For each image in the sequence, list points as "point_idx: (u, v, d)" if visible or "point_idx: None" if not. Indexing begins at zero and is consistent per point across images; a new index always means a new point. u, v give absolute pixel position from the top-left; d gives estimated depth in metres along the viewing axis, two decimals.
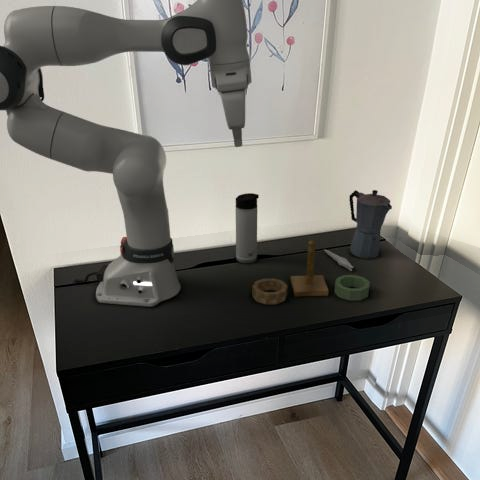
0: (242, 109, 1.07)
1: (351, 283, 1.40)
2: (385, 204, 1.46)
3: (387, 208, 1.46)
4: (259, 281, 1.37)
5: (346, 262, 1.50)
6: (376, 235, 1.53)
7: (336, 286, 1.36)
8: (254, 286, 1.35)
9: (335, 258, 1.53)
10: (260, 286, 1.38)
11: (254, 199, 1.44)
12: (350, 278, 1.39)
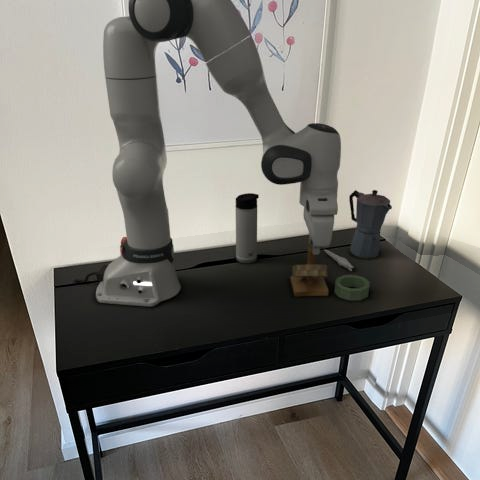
0: (330, 233, 1.17)
1: (351, 283, 1.40)
2: (385, 204, 1.46)
3: (387, 208, 1.46)
4: None
5: (346, 262, 1.50)
6: (376, 235, 1.53)
7: (336, 286, 1.36)
8: None
9: (335, 258, 1.53)
10: None
11: (254, 199, 1.44)
12: (350, 278, 1.39)
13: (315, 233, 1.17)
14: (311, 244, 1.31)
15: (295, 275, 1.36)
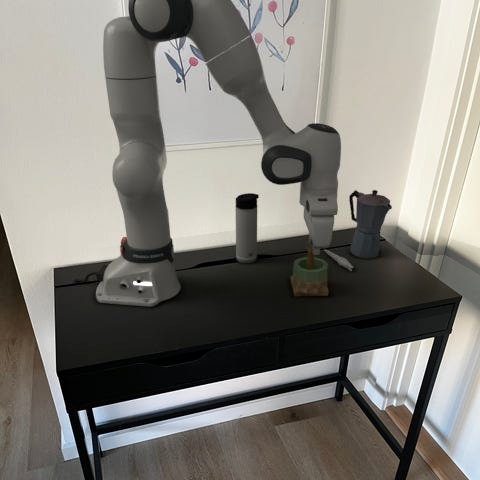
0: (330, 233, 1.17)
1: None
2: (385, 204, 1.46)
3: (387, 208, 1.46)
4: None
5: (346, 262, 1.50)
6: (376, 235, 1.53)
7: (294, 268, 1.35)
8: None
9: (335, 258, 1.53)
10: None
11: (254, 199, 1.44)
12: None
13: (315, 233, 1.17)
14: (311, 244, 1.31)
15: (295, 288, 1.36)
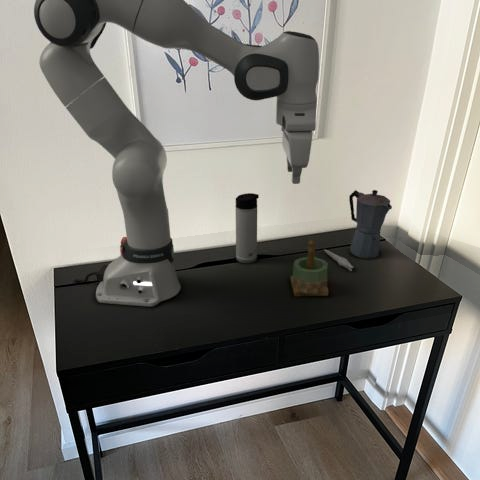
0: (308, 150, 1.09)
1: None
2: (385, 204, 1.46)
3: (387, 208, 1.46)
4: None
5: (346, 262, 1.50)
6: (376, 235, 1.53)
7: (294, 268, 1.35)
8: None
9: (335, 258, 1.53)
10: None
11: (254, 199, 1.44)
12: None
13: (292, 151, 1.09)
14: (289, 169, 1.25)
15: (295, 288, 1.36)
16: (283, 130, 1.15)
